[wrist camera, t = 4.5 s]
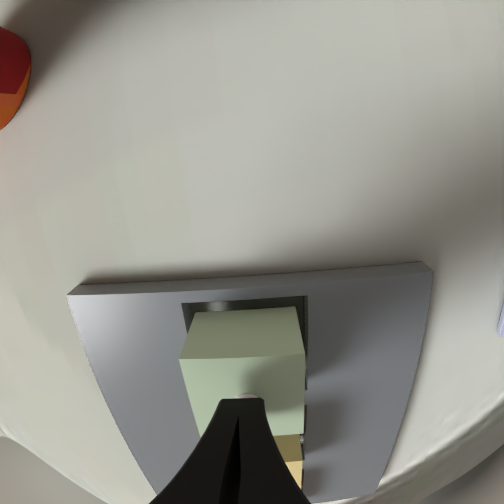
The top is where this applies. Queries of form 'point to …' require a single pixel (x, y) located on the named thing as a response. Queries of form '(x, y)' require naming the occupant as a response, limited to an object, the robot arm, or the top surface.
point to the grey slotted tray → (316, 365)
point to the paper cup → (12, 74)
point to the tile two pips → (291, 454)
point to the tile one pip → (246, 364)
